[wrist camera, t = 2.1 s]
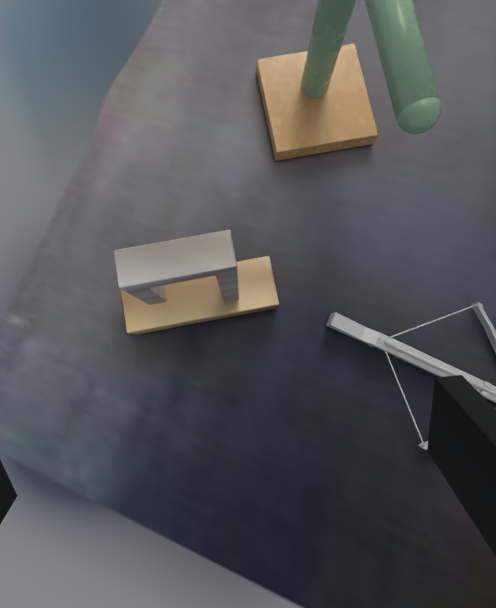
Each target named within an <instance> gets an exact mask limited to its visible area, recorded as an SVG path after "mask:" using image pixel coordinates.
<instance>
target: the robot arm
mask: <svg viewBox="0 0 496 608" xmlns="http://www.w3.org/2000/svg"><path fill="white" fill-rule="evenodd" d="M427 451H428V452H429V454H430V455H431V457H432V459H433V460H434V462H435V463H436V465H437V466H438V468H439V469H440V471H441V473H442V474H443V476H444V477H445V479H446V480H447V482H448V483H449V485H450V487H451V488H452V490H453V491H454V493H455V494H456V496H457V497H458V499H459V501H460V502H461V504H462V505H463V507H464V508H465V510H466V512H467V513H468V515H469V516H470V518H471V519H472V521H473V522H474V524H475V526H476V527H477V529H478V530H479V532H480V533H481V535H482V536H483V538H484V540H485V541H486V543H487V544H488V546H489V547H490V549H491V550H492V552H493V554H494V555H495V557H496V409H495V408H494V407H493V406H492V405H491V404H490V403H489V402H488V401H487V400H486V399H485V398H484V397H483V396H482V395H481V394H480V393H479V392H478V391H477V390H476V389H475V388H474V387H473V386H472V385H471V384H470V383H469V382H468V381H467V380H466V379H465V378H464V377H463V376H462V375H455V376H446V377H437V378H435V384H434V393H433V402H432V411H431V420H430V430H429V439H428V448H427ZM16 497H17V494H16V492H15V490H14V488H13V486H12V484H11V481H10V479H9V477H8V475H7V473H6V471H5V469H4V467H3V465H2V463H1V460H0V524H1V522H2V520H3V519H4V517H5V515H6V514H7V512H8V510H9V509H10V507H11V505H12V504H13V502H14V500H15V499H16Z"/></svg>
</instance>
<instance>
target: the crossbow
mask: <svg viewBox="0 0 496 608" xmlns="http://www.w3.org/2000/svg"><path fill="white" fill-rule="evenodd" d="M471 304H472V306H470V307H468V308H465V309H462V310H460V311H457V312H454V313H452V314H449V315H446V316H444V317H441V318H438V319H436V320H433V321H431V322H434V321H437V320H439V319H442V318H445V317H447V316H450V315H453V314H455V313H458V312H461V311H463V310H466V309H469V308H471V307H472V308H473V310H474V311H475V313H476V315H477V316H478V318H479V320H480V322H481V323H482V325H483V327H484V329H485V331H486V333H487V336H488V338H489V340H490V342H491V345H492V347H493V349H494V351H495V354H496V331H495V329H494V327H493V325H492V324H491V322H490V320H489V318H488V317H487V315H486V313H485V311H484V310H483V309H484V308H483V304H481V303H479V302H474V303H471ZM431 322H428V323H425V324H423V325H426V324H429V323H431ZM423 325H420V326H417V327H415V328H418V327H421V326H423ZM326 326H328V327H330V328H333V329H335V330H337V331H339V332H341V333H344V334H346V335H348V336H350V337H353V338H355V339H357V340H360V341H362V342H365V343H367V344H368V346H371V347H376V348H378V349H380V350H383V351H385V353H386V355H387V358H388V360H389V363H390V365H391V368H392V370H393V372H394V375H395V377H396V380H397V382H398V385H399V387H400V390H401V392H402V394H403V397H404V399H405V402H406V404H407V407H408V409H409V412H410V414H411V417H412V419H413V421H414V424H415V426H416V429H417V431H418V434H419V436H420V439H421V441H422V443H420V444H419V445H418V446H420V447H422V448H424V449H426V450H427V448H428V441H426V442H423V440H422V437H421V435H420V432H419V430H418V427H417V425H416V423H415V420H414V418H413V415H412V413H411V410H410V408H409V405H408V403H407V400H406V398H405V396H404V393H403V391H402V388H401V386H400V383H399V381H398V378H397V376H396V374H395V371H394V369H393V366H392V364H391V361H390V359H389V356H388V354H387V353H389V354H391V355H393V356H395V357H398V358H400V359H402V360H404V361H406V362H408V363H411V364H413V365H415V366H417V367H419V368H421V369H423V370H426V371H428V372H430V373H432V374H434V375H436V376H438V377H446V376H455V375H462V376H463V377H464V378H465V379H466V380H467V381H468V382H469V383H470V384H471V385H472V386H473V387H474V388H475V389H476V390H477V391H478V392H479V393H480V394H481V395H482V396H483V397H484V398H486V399H488V400H490V401H492V402H494V403H496V387H495V386H493V385H491V383H488V382H486V381H482V380H480V379H478V378H476V377H474V376H472V375H470V374H467V373H465V372H463V371H461V370H459V369H457V368H455V367H452V366H450V365H448V364H446V363H444V362H442V361H440V360H437V359H435V358H433V357H431V356H429V355H427V354H425V353H422V352H420V351H418V350H416V349H414V348H412V347H410V346H408V345H406V344H404V343H401V342H399V341H397V340H395V339H393V338H391V337H394V336H397V335H399V334H402V333H405V332H407V331H410V330H413V329H415V328H412V329H409V330H407V331H404V332H401V333H399V334H396V335H393V336H391V337H388V336H386V335H384V334H382V333H380V332H377V331H374V330H372V329H369V328H367V327H365V326H363V325H360V324H358V323H356V322H354V321H352V320H350V319H348V318H346V317H344V316H342V315H340V314H338V313H336V312H335V313H332V314H331V315H330V318H329V320H328V322H327V325H326ZM495 409H496V407H495Z"/></svg>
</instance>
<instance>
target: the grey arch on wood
mask: <svg viewBox="0 0 496 608" xmlns="http://www.w3.org/2000/svg"><path fill="white" fill-rule="evenodd" d="M114 258H115V265H116V272H117V278H118V285H119V288H120V289H121V295H122V301H123V308H124V315H125V322H126V328H127V333H130V334H135V335H137V334H143V333H148V332H153V331H159V330H164V329H169V328H174V327H180V326H185V325H190V324H196V323H201V322H206V321H212V320H217V319H222V318H227V317H233V316H238V315H243V314H249V313H254V312H259V311H264V310H270V309H275V308H277V306H278V305H279V301H278V296H277V291H276V286H275V281H274V276H273V272H272V267H271V262H270V257H269V256H265V257H260V258H254V259H249V260H243V261H238V262H236V257H235V252H234V247H233V242H232V236H231V231H230V230H224V231H218V232H213V233H207V234H202V235H196V236H191V237H185V238H180V239H174V240H168V241H163V242H157V243H152V244H146V245H141V246H135V247H129V248H124V249H118V250H114Z"/></svg>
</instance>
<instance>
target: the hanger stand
mask: <svg viewBox="0 0 496 608" xmlns="http://www.w3.org/2000/svg"><path fill="white" fill-rule="evenodd" d="M355 1H356V0H318V5H317V10H316V15H315V19H314V24H313V29H312V34H311V38H310V43H309V48H308V51H306V52H300V53H294V54H288V55H282V56H275V57H269V58H263V59H257V64H256V73H257V78H258V83H259V87H260V92H261V97H262V101H263V106H264V111H265V115H266V120H267V125H268V129H269V134H270V139H271V143H272V148H273V153H274V157H275V161H278V160H284V159H289V158H295V157H301V156H307V155H312V154H318V153H324V152H330V151H335V150H341V149H347V148H353V147H358V146H364V145H370V144H373V142H374V141H375V139H376V137H377V136H378V132H377V128H376V124H375V121H374V117H373V113H372V109H371V105H370V101H369V97H368V93H367V89H366V85H365V81H364V78H363V74H362V70H361V66H360V62H359V58H358V54H357V50H356V46H355V44H349V45H343V46H342V42H343V39H344V36H345V33H346V30H347V27H348V23H349V20H350V17H351V14H352V11H353V8H354V4H355ZM365 2H366V6H367V10H368V14H369V17H370V21H371V25H372V29H373V32H374V36H375V40H376V44H377V48H378V51H379V55H380V59H381V63H382V66H383V70H384V74H385V78H386V82H387V85H388V89H389V93H390V97H391V100H392V104H393V108H394V112H395V116H396V119H397V122H398V125H399V126H400V128H401V129H402V130H403V131H405V132H407V133H409V134H420V133H424V132H426V131H427V130H429V129H430V128H432V127H433V126H434V124H435V123H436V122H437V120H438V119H439V116H440V113H441V100H440V97H439V93H438V90H437V86H436V83H435V79H434V76H433V72H432V69H431V65H430V62H429V58H428V55H427V51H426V48H425V44H424V40H423V37H422V33H421V30H420V26H419V23H418V19H417V16H416V12H415V9H414V5H413V2H412V0H365Z"/></svg>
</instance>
